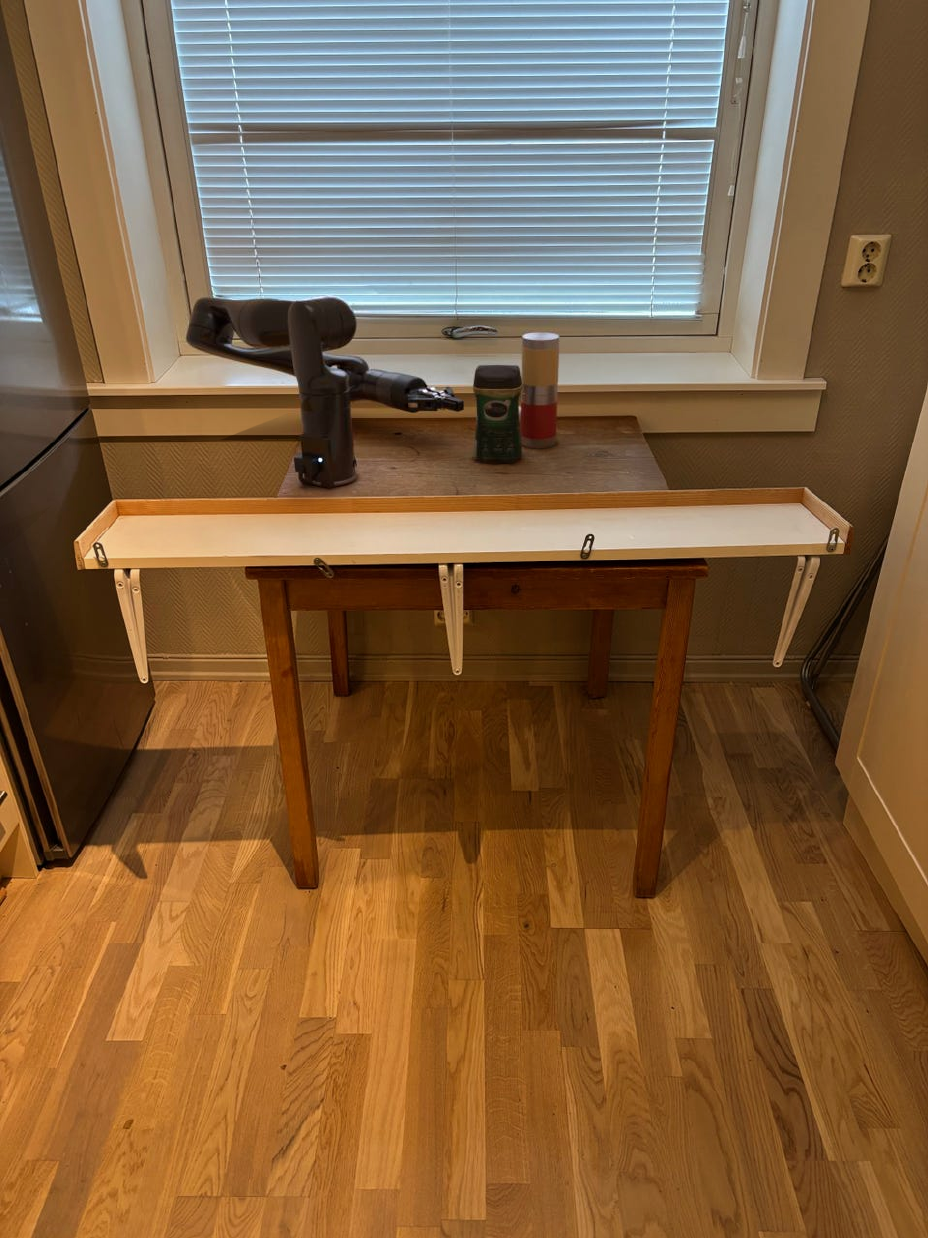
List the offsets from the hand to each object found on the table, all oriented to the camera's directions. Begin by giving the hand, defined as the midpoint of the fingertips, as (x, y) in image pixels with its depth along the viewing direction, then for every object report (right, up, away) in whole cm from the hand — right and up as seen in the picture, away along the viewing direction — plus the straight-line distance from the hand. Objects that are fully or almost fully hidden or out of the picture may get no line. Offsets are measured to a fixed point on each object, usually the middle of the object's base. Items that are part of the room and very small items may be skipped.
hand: (461, 406), depth 186 cm
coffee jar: (+7, -11, -1) cm, 13 cm away
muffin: (+11, -1, +17) cm, 20 cm away
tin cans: (+16, -6, +7) cm, 19 cm away
